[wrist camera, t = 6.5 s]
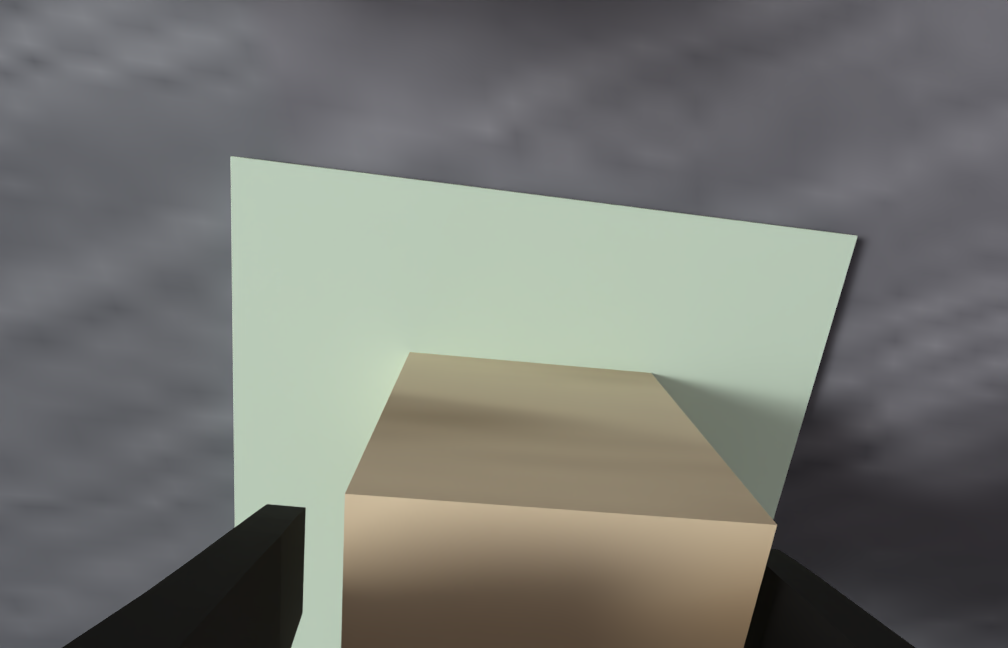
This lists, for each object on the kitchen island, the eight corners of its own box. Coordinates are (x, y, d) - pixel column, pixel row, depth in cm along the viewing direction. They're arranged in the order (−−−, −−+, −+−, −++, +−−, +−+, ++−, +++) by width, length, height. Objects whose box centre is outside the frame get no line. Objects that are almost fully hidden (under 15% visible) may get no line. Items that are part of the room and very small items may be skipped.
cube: (613, 573, 12) (694, 829, 7) (397, 559, 12) (336, 813, 7) (651, 373, 11) (777, 524, 6) (409, 352, 11) (344, 493, 6)
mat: (708, 685, 14) (717, 707, 13) (247, 651, 13) (236, 672, 13) (838, 232, 11) (857, 236, 10) (244, 157, 10) (230, 156, 10)
